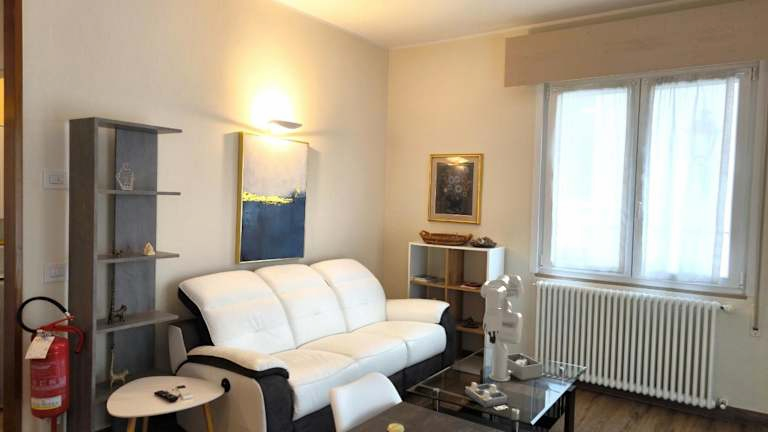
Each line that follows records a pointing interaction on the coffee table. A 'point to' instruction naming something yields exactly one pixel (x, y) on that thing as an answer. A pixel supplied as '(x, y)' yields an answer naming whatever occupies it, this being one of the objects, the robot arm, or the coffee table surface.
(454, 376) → the coffee table surface
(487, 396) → the tab
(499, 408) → the label card
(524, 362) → the camera
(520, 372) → the grey open bin
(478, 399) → the grey shallow tray
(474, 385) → the tab
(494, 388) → the tab
